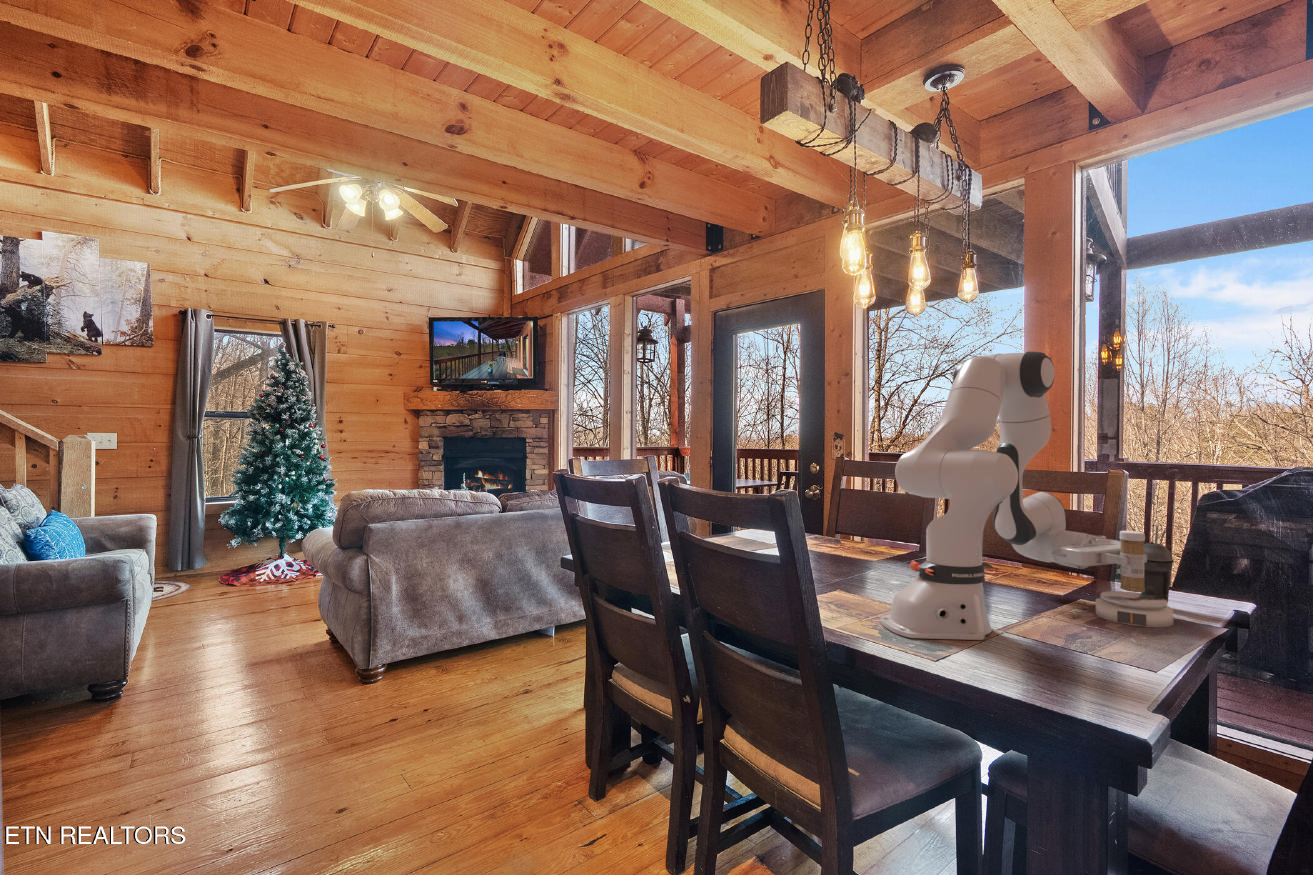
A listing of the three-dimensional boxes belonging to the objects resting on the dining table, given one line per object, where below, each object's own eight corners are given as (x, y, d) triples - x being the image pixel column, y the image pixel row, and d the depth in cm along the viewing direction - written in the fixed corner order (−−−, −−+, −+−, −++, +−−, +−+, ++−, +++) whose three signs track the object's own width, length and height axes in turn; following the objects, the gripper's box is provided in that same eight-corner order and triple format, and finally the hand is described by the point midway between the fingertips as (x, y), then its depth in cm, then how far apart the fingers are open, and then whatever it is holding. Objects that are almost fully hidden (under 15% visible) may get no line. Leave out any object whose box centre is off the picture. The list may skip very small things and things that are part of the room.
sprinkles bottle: (1142, 589, 141) (1142, 531, 141) (1147, 593, 137) (1147, 533, 137) (1117, 587, 143) (1117, 529, 143) (1121, 591, 139) (1121, 532, 139)
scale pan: (1131, 609, 133) (1131, 605, 133) (1087, 595, 145) (1087, 591, 145) (1182, 608, 134) (1181, 603, 134) (1134, 594, 146) (1134, 590, 146)
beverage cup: (1160, 603, 152) (1159, 523, 152) (1182, 611, 145) (1181, 527, 145) (1128, 602, 153) (1127, 522, 153) (1149, 610, 145) (1148, 526, 146)
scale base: (1130, 628, 132) (1130, 614, 132) (1080, 610, 146) (1080, 597, 146) (1190, 626, 133) (1190, 612, 133) (1135, 608, 147) (1135, 596, 147)
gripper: (1046, 539, 148) (1104, 549, 135) (1104, 534, 155) (1165, 543, 142) (1046, 565, 148) (1105, 577, 135) (1104, 559, 155) (1165, 570, 142)
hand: (1136, 560), depth 139 cm, fingers closed on sprinkles bottle, 4 cm apart
